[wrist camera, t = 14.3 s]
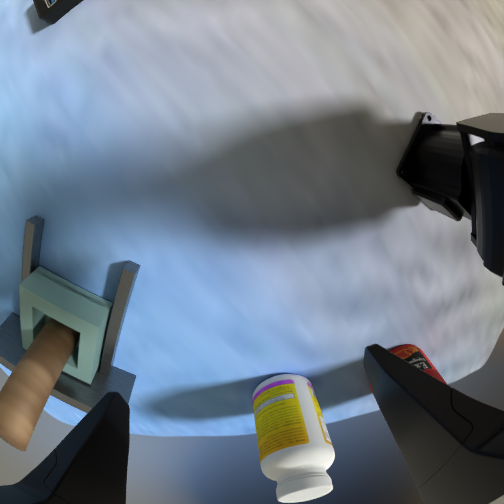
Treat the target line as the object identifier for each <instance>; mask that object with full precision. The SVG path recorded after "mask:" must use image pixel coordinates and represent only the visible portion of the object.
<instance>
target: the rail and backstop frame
mask: <svg viewBox="0 0 504 504" xmlns="http://www.w3.org/2000/svg"><path fill="white" fill-rule="evenodd" d="M43 224H44V219H42V218H40V217H38V216H37V215H36V216H34V217H32V218H30V219H29V220H27V221H26V228H25V237H24V248H23V264H22V281H24V280H25V279H26V278H27V277H28V276H29V275H30V274H31V273H32V272H34V271H35V270H36V269H37V268H38V265H39V254H40V246H41V238H42V231H43ZM139 268H140V265H138V264H136V263H134V262H131V261H128V262H127V264H126V265H125V267H124V268H123V270H122V274H121V278H120V281H119V285H118V289H117V292H116V296H115V300H114V304H113V308H112V312H111V317H110V321H109V326H108V330H107V335H106V340H105V345H104V350H103V355H102V361H101V362H100V364H99V366H98V368H97V371H96V373H95V375H94V378H93V380H92V383H91V384H88V383H86V382H84V381H82V380H80V379H78V378H76V377H74V376H72V375H70V374H68V373H66V372H64V371H62V372H61V374H60V376H59V378H58V380H57V382H56V384H55V386H54V388H53V390H52V392H51V394H50V395H52V396H54V397H56V398H57V399H59V400H61V401H63V402H65V403H67V404H69V405H71V406H73V407H75V408H77V409H80V410H82V411H84V412H86V413H88V412H89V411H90V410H91V409H92V408H93V407H94V406H95V405H96V404H97V403H98V402H99V401H100V400H101V399H102V398H103V397H104V395H105V394H106V393H107V392H110V391H117V392H119V393H120V394H121V396H122V397H123V398H124V400H125V401H126V402H127V403H129V399H130V395H131V392H132V388H133V385H134V381H135V378H136V375H133V374H131V373H128V372H126V371H123V370H121V369H118V368H116V367H113V361H114V357H115V353H116V348H117V344H118V340H119V336H120V332H121V329H122V325H123V321H124V317H125V314H126V310H127V307H128V303H129V300H130V297H131V293H132V290H133V287H134V283H135V280H136V277H137V274H138V271H139ZM26 351H27V350H26V349H24V348H23V343H22V334H21V321H20V317H19V316H17V315H16V314H14V313H13V312H12V314H11V315H10V316H9V317H8V318H7V319H6V320H5V321H4V323H3V324H2V325H1V326H0V363H1V364H2V365H3V366H5V367H6V368H8V369H9V370H11V371H12V372H13V370H14V369H15V367H16V366H17V364H18V362H19V361H20V359H21V358H22V356H23V355H24V353H25V352H26Z"/></svg>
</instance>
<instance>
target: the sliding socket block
mask: <svg viewBox="0 0 504 504" xmlns="http://www.w3.org/2000/svg"><path fill="white" fill-rule="evenodd" d="M19 300H20V321H21V334H22V343H23V348H24V349H26V350H27V349H28V348H29V346H30V345H31V343H32V342H33V341H34V339H35V338H36V336H37V335H38V334H39V332H40V331H41V330H42V328H43V327H44V326H45V324H46V323H47V322H48V320H49V319H50V318H53V319H55V320H57V321H59V322H61V323H62V324H64V325H66V326H68V327H70V328H72V329H74V330H76V331H78V332H80V340H79V341H78V343H77V345H76V347H75V348H74V350H73V352H72V354H71V355H70V357H69V359H68V361H67V363H66V365H65V366H64V368H63V370H62V371H64V372H66V373H68V374H70V375H72V376H74V377H76V378H78V379H80V380H82V381H84V382H86V383H88V384H91V383H92V380H93V378H94V375H95V373H96V371H97V368H98V366H99V364H100V362H101V358H102V352H103V347H104V342H105V337H106V332H107V327H108V323H109V318H110V314H111V310H112V305H113V303H111V302H109V301H107V300H105V299H103V298H101V297H99V296H97V295H94V294H92V293H90V292H88V291H86V290H84V289H82V288H80V287H78V286H76V285H74V284H72V283H70V282H68V281H67V280H65V279H63V278H61V277H59V276H57V275H55V274H53V273H52V272H50V271H48V270H46V269H44V268H43V267H41V266H39V267H38V268H37V269H36V270H35V271H34V272H32V273H31V274H30V275H29V276H28V277H27V278H26V279H25V280H24V281H22V282H21V283H20V284H19Z"/></svg>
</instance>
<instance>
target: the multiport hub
mask: <svg viewBox="0 0 504 504" xmlns="http://www.w3.org/2000/svg"><path fill="white" fill-rule="evenodd" d="M33 1H34V4H35V7H36V10H37V13H38V15H39V18H40V19H42V20H44V21H46V22H48V23H50V24H54V23H56V22H57V21H58V20H59V19H60V18H61V17H63V16H64V15H65V14H66V13H68V12H69V11H70V10H71V9H73V8H74V7H75V6H76V5H78V4H79V3H80V2H82V1H83V0H33Z"/></svg>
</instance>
